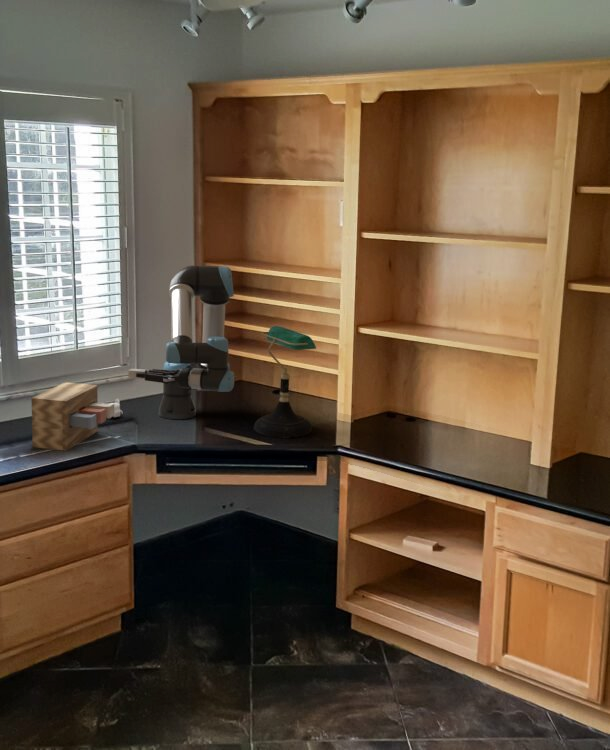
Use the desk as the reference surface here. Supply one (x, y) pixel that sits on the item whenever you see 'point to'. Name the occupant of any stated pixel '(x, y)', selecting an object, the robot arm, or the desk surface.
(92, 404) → the white key
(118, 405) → the elephant figurine
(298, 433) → the banker's lamp
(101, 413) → the brick key
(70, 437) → the wooden box
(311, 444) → the desk surface
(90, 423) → the slate key
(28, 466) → the desk surface
